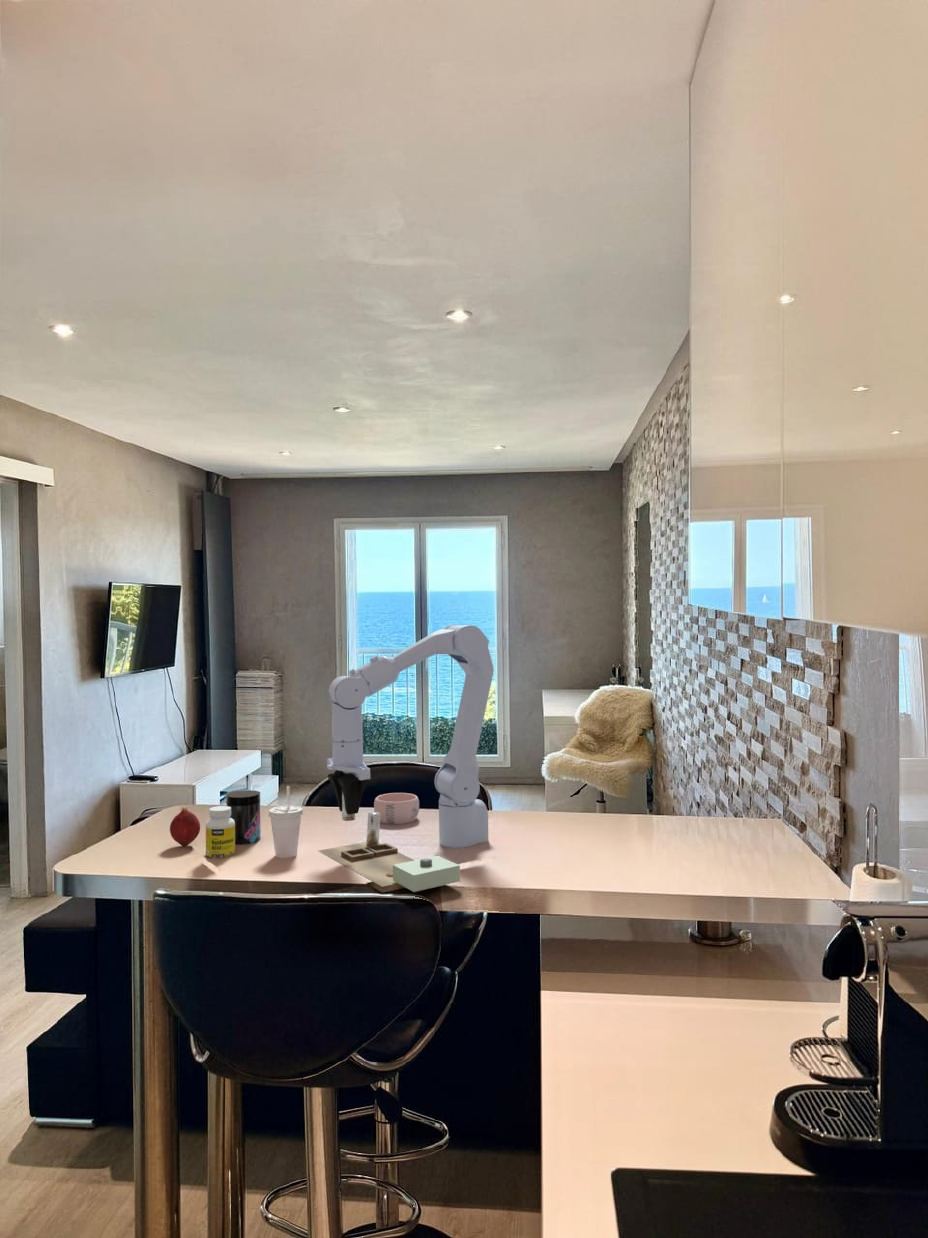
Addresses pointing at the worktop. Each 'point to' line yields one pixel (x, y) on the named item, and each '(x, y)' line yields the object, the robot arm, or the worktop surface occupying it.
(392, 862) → the board
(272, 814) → the smoothie
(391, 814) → the pink bowl
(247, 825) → the supplement container
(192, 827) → the onion
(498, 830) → the worktop surface
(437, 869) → the cover
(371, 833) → the pin
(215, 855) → the supplement bottle
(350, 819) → the pin
